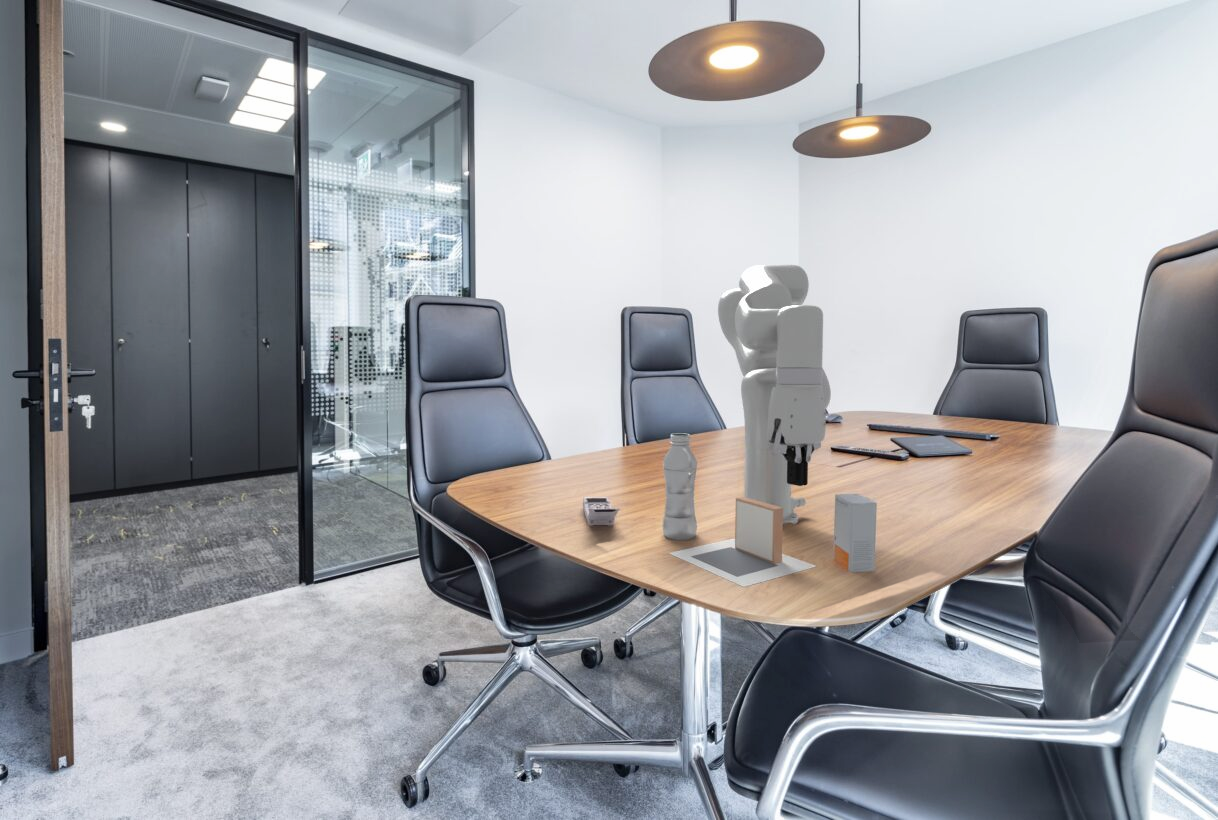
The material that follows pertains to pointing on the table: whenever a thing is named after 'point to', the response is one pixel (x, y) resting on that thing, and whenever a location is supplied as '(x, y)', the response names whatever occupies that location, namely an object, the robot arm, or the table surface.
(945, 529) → the table surface
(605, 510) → the mobile phone
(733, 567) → the mat
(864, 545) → the skincare box
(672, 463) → the plastic bottle
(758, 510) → the tile
